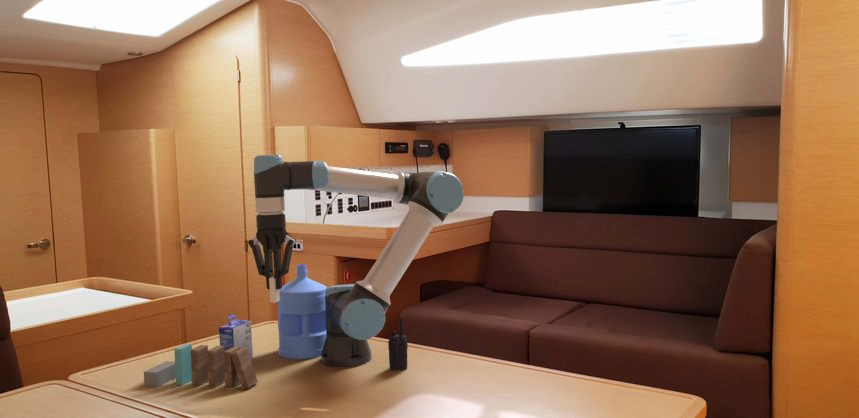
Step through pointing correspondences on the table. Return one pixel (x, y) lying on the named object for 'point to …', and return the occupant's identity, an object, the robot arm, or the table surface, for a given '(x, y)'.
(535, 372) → the table surface
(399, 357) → the two-way radio
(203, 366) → the domino
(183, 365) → the teal domino
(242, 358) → the domino
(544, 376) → the table surface
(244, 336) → the ink cartridge box
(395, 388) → the table surface
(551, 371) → the table surface
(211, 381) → the domino
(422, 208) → the robot arm
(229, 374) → the domino
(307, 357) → the water jug
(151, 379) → the block
